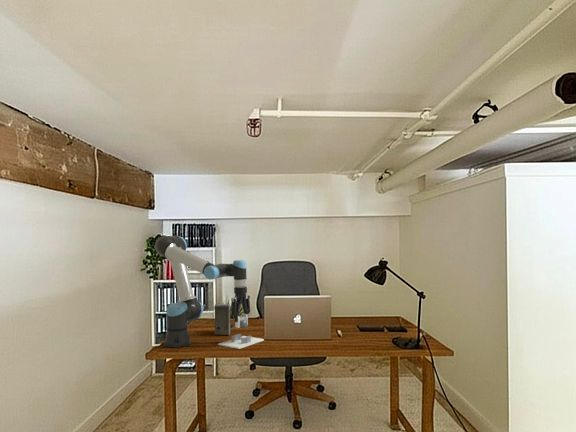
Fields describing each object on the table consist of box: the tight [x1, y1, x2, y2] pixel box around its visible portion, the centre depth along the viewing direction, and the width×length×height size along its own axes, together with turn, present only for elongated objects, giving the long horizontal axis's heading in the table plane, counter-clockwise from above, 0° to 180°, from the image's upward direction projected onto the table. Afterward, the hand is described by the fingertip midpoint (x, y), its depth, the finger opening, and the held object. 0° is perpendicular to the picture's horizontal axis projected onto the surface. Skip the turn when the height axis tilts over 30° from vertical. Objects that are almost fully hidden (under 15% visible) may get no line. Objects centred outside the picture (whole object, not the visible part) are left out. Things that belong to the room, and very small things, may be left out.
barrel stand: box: [217, 333, 265, 350], centre depth 252 cm, size 22×16×4 cm
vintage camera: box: [213, 303, 235, 336], centre depth 279 cm, size 10×16×20 cm, turn 174°
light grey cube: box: [239, 316, 248, 329], centre depth 253 cm, size 6×6×6 cm
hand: (241, 326), depth 253 cm, fingers closed on light grey cube, 6 cm apart
